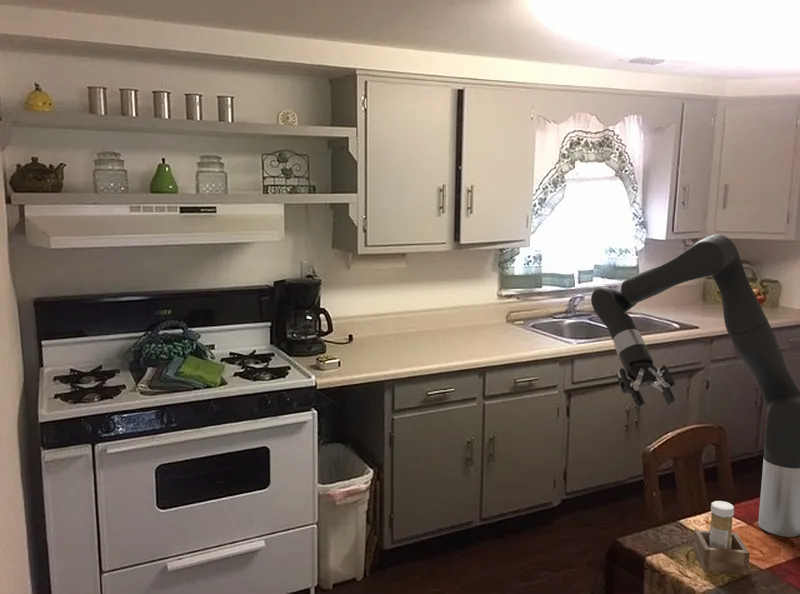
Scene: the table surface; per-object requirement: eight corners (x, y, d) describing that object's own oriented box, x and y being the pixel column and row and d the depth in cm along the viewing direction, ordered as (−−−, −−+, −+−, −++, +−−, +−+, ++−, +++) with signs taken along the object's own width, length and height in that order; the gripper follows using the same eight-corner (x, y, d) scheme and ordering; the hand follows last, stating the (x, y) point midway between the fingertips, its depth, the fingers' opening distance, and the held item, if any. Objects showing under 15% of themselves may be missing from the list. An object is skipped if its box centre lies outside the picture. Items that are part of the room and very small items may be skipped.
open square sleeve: (734, 553, 154) (736, 532, 153) (748, 574, 145) (749, 553, 145) (693, 549, 156) (694, 529, 155) (703, 570, 147) (705, 549, 146)
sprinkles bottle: (734, 563, 150) (738, 505, 148) (722, 569, 148) (726, 511, 146) (714, 554, 154) (718, 498, 152) (703, 560, 151) (707, 503, 149)
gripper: (614, 344, 175) (639, 399, 166) (662, 341, 179) (688, 395, 169) (602, 359, 181) (625, 414, 171) (648, 356, 184) (673, 409, 175)
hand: (656, 404), depth 170 cm, fingers open, 8 cm apart
